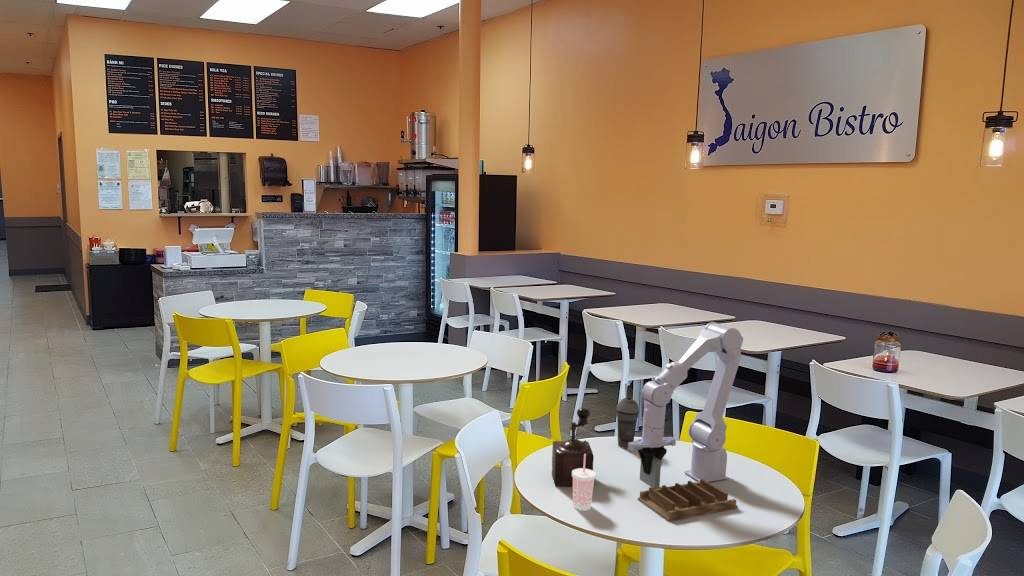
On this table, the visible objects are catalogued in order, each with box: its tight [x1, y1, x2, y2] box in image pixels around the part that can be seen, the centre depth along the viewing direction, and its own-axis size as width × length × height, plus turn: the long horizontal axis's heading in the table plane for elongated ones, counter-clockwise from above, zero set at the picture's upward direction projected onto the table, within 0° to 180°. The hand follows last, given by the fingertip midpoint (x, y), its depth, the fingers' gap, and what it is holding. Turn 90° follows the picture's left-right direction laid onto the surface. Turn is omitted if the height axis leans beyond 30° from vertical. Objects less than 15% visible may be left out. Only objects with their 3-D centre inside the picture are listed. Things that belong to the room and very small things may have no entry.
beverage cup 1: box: [572, 454, 597, 511], centre depth 181 cm, size 6×6×14 cm
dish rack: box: [637, 479, 738, 522], centre depth 186 cm, size 22×13×4 cm, turn 115°
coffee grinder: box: [551, 407, 594, 488], centre depth 200 cm, size 16×11×18 cm
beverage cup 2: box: [615, 383, 640, 449], centre depth 225 cm, size 7×7×20 cm
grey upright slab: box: [639, 456, 662, 489], centre depth 198 cm, size 2×7×8 cm, turn 25°
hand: (650, 472), depth 198 cm, fingers closed on grey upright slab, 2 cm apart
